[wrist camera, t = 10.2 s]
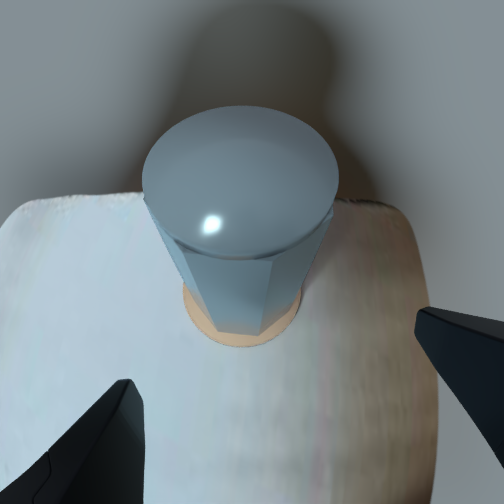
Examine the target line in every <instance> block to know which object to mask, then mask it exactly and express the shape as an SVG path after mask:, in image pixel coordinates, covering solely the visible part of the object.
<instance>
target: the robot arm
mask: <svg viewBox="0 0 504 504" xmlns="http://www.w3.org/2000/svg"><path fill="white" fill-rule="evenodd" d="M414 333H415V337H416V339H417V340H418V342H419V343H420V345H421V347H422V348H423V350H424V351H425V353H426V355H427V356H428V358H429V359H430V361H431V363H432V364H433V366H434V367H435V369H436V370H437V372H438V373H439V375H440V376H441V377H442V378H443V380H444V381H445V382H446V384H447V385H448V386H449V388H450V389H451V390H452V392H453V393H454V395H455V396H456V397H457V399H458V400H459V402H460V403H461V404H462V406H463V407H464V409H465V410H466V411H467V413H468V414H469V416H470V417H471V418H472V420H473V422H474V423H475V424H476V426H477V427H478V429H479V430H480V432H481V433H482V435H483V436H484V438H485V439H486V441H487V442H488V444H489V446H490V447H491V448H492V450H493V452H495V455H496V457H497V459H498V460H499V462H500V463H501V465H502V467H503V468H504V322H502V321H498V320H493V319H487V318H483V317H478V316H473V315H468V314H463V313H458V312H453V311H448V310H443V309H439V308H434V307H425V308H422V309H420V310H419V311H418V312H417V316H416V323H415V329H414ZM144 464H145V432H144V405H143V400H142V398H141V396H140V394H139V392H138V390H137V388H136V386H135V384H134V382H133V381H132V380H131V379H121V380H118V381H116V382H115V383H114V384H113V385H112V386H111V387H110V388H109V389H108V390H107V391H106V392H105V393H104V394H103V395H102V396H101V397H100V398H99V399H98V400H97V401H96V402H95V403H94V404H93V405H92V406H91V407H90V408H89V409H88V410H87V411H86V412H85V413H84V414H83V415H82V416H81V417H80V418H79V419H78V420H77V421H76V422H75V423H74V424H73V425H72V426H71V427H70V428H69V429H68V430H67V431H66V432H65V433H64V434H63V435H62V436H61V437H60V438H59V439H58V440H57V441H56V442H55V443H54V444H53V445H52V446H51V447H50V448H49V449H48V451H46V452H45V453H44V454H43V455H42V456H41V457H40V458H39V459H38V460H37V461H36V462H35V463H34V464H33V465H32V466H31V467H30V468H29V469H28V470H26V471H25V472H24V473H23V474H22V475H21V476H19V477H18V478H17V479H16V480H15V481H13V482H12V483H11V484H10V485H8V486H7V487H6V488H5V489H3V490H2V491H1V492H0V504H143V492H144Z"/></svg>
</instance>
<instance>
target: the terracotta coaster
mask: <svg viewBox="0 0 504 504" xmlns="http://www.w3.org/2000/svg"><path fill="white" fill-rule="evenodd" d="M300 297H301V287H300V289H299V291H298V293H297V295H296V298H295V300H294V302H293V304H292V306H291V308H290V310H289V312H287V313H286V314H285V315H284V316H283V317H281V318H280V319H279V320H278V321H276V322H275V323H274V324H273V325H272V326H270V327H269V328H268V329H267V330H265V331H264V332H263V333H262V334H260V335H259V336H251V335H241V334H232V333H224V332H218V331H217V330H216V329H215V327H214V326H213V325H212V324H211V322H210V321H209V320H208V319H207V317H206V316H205V315H204V313H203V312H202V311H201V309H200V308H199V307H198V306H197V304H196V303H195V301H194V300H193V298H192V296H191V294H190V292H189V290H188V289H187V287H186V285H185V283H183V299H184V303H185V307H186V310H187V312H188V315H189V316H190V318H191V320H192V321H193V323H194V324H195V325H196V327H197V328H198V329H199V330H200V331H201V332H202V333H203V334H205V335H206V336H207V337H209V338H210V339H212V340H214V341H216V342H218V343H221V344H223V345H227V346H232V347H251V346H257V345H260V344H263V343H266V342H268V341H270V340H272V339H273V338H275V337H276V336H278V335H279V334H280V333H281V332H283V331H284V330H285V329H286V327H287V326H288V325H289V324H290V322H291V321H292V319H293V318H294V316H295V314H296V312H297V309H298V306H299V303H300Z"/></svg>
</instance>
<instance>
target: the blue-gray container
mask: <svg viewBox="0 0 504 504" xmlns="http://www.w3.org/2000/svg"><path fill="white" fill-rule="evenodd" d="M338 183H339V170H338V166H337V161H336V159H335V157H334V154H333V152H332V150H331V148H330V147H329V145H328V144H327V143H326V141H325V140H324V139H323V138H322V137H321V136H320V135H319V134H318V133H317V132H316V131H315V130H314V129H313V128H311V127H310V126H309V125H307V124H306V123H304V122H302V121H301V120H299V119H297V118H295V117H293V116H291V115H288V114H286V113H283V112H280V111H276V110H273V109H268V108H263V107H255V106H229V107H221V108H216V109H212V110H208V111H204V112H201V113H198V114H196V115H193V116H191V117H189V118H187V119H185V120H183V121H181V122H179V123H178V124H176V125H175V126H173V127H172V128H171V129H170V130H168V131H167V132H166V133H165V134H164V135H163V136H162V137H161V138H160V139H159V140H158V141H157V142H156V144H155V145H154V146H153V148H152V149H151V151H150V153H149V155H148V156H147V159H146V162H145V164H144V168H143V173H142V186H143V192H144V198H143V200H144V202H145V204H146V206H147V208H148V210H149V213H150V215H151V217H152V219H153V221H154V223H155V225H156V227H157V230H158V232H159V234H160V236H161V238H162V240H163V242H164V244H165V246H166V248H167V250H168V252H169V254H170V256H171V258H172V260H173V262H174V264H175V266H176V268H177V270H178V271H179V273H180V275H181V277H182V279H183V281H184V283H185V285H186V287H187V289H188V290H189V292H190V294H191V296H192V298H193V300H194V301H195V303H196V304H197V306H198V307H199V308H200V309H201V311H202V312H203V313H204V315H205V316H206V317H207V319H208V320H209V321H210V322H211V324H212V325H213V326H214V327H215V329H216V330H217V331H218V332H224V333H232V334H241V335H251V336H259V335H260V334H262V333H263V332H264V331H265V330H267V329H268V328H269V327H270V326H272V325H273V324H274V323H275V322H276V321H278V320H279V319H280V318H281V317H283V316H284V315H285V314H286V313H287V312H289V310H290V308H291V306H292V304H293V302H294V300H295V298H296V295H297V293H298V291H299V289H300V287H301V285H302V283H303V281H304V279H305V277H306V275H307V273H308V270H309V268H310V266H311V264H312V262H313V260H314V258H315V255H316V253H317V251H318V249H319V247H320V244H321V242H322V240H323V238H324V235H325V233H326V231H327V229H328V226H329V224H330V222H331V220H332V217H333V201H334V198H335V195H336V192H337V189H338Z"/></svg>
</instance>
